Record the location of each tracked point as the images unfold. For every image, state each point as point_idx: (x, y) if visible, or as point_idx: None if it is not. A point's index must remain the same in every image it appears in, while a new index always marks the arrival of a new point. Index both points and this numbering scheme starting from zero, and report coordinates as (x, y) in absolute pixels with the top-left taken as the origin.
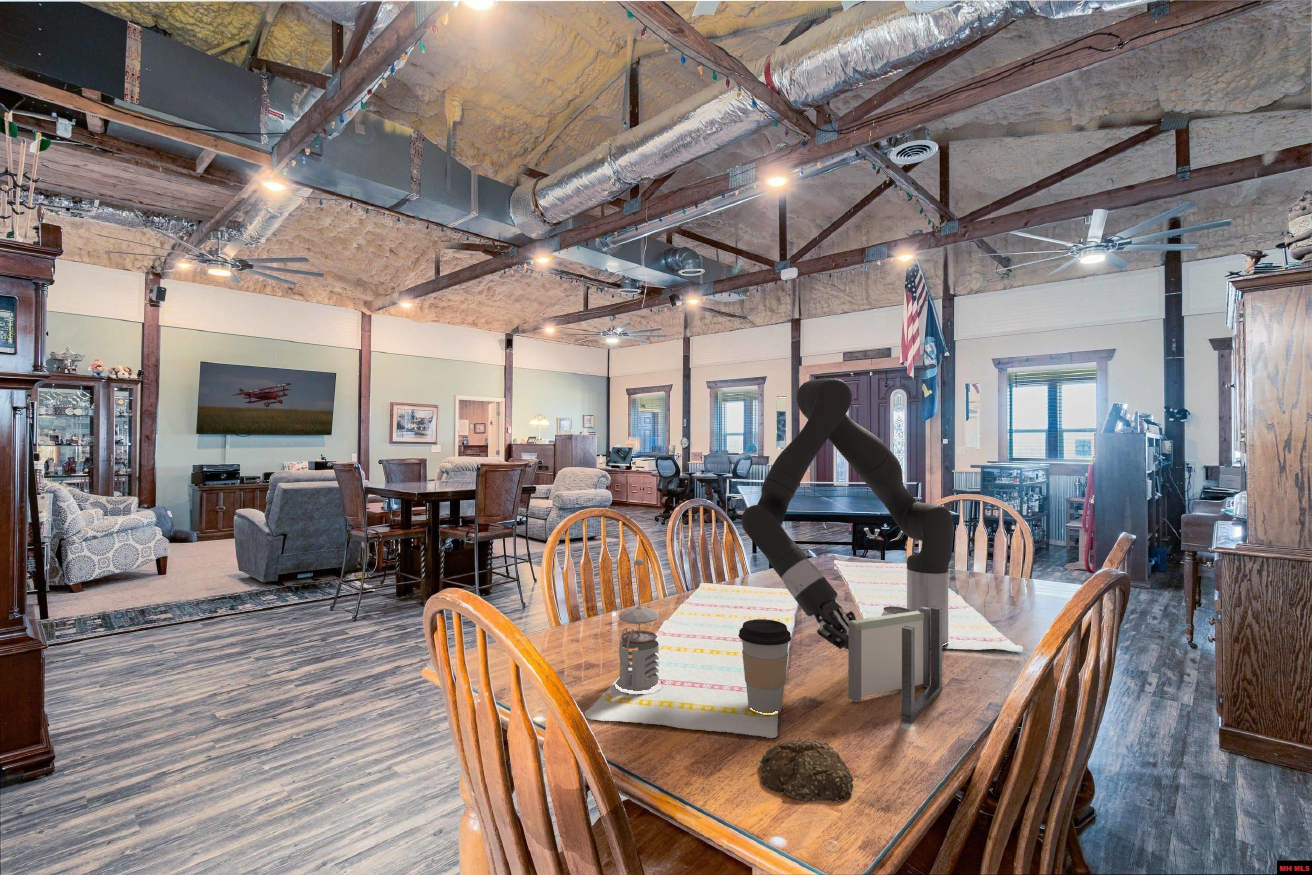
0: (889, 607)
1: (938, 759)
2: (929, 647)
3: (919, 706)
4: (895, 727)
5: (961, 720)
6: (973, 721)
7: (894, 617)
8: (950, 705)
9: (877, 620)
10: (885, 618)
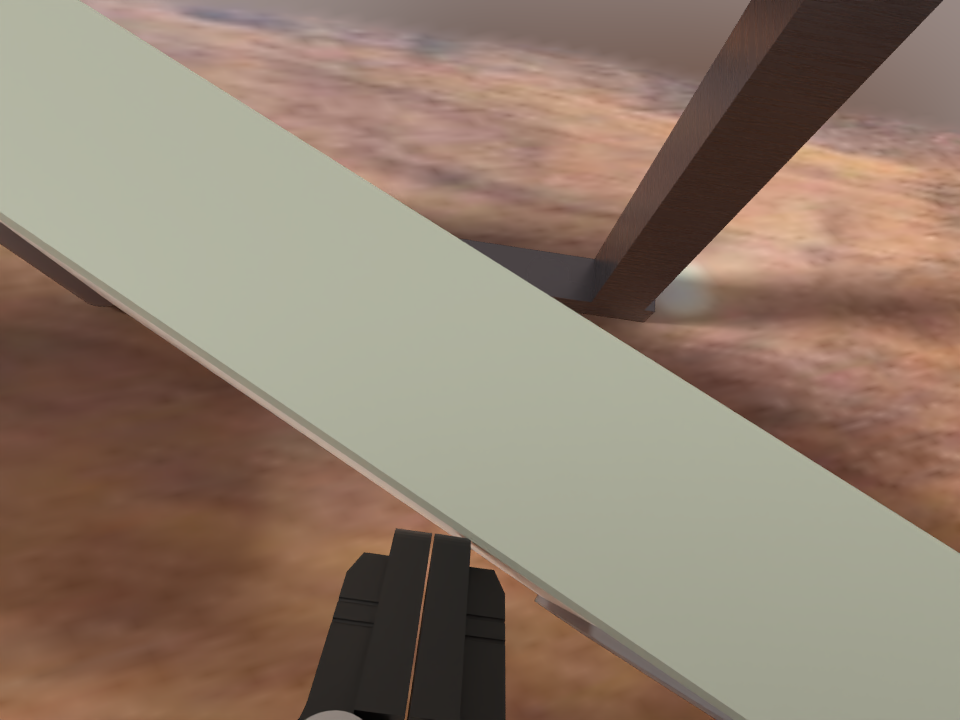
0: None
1: (874, 156)
2: None
3: (492, 251)
4: (728, 332)
5: (472, 106)
6: (453, 67)
7: (72, 2)
8: (323, 152)
9: (541, 299)
10: (296, 151)
